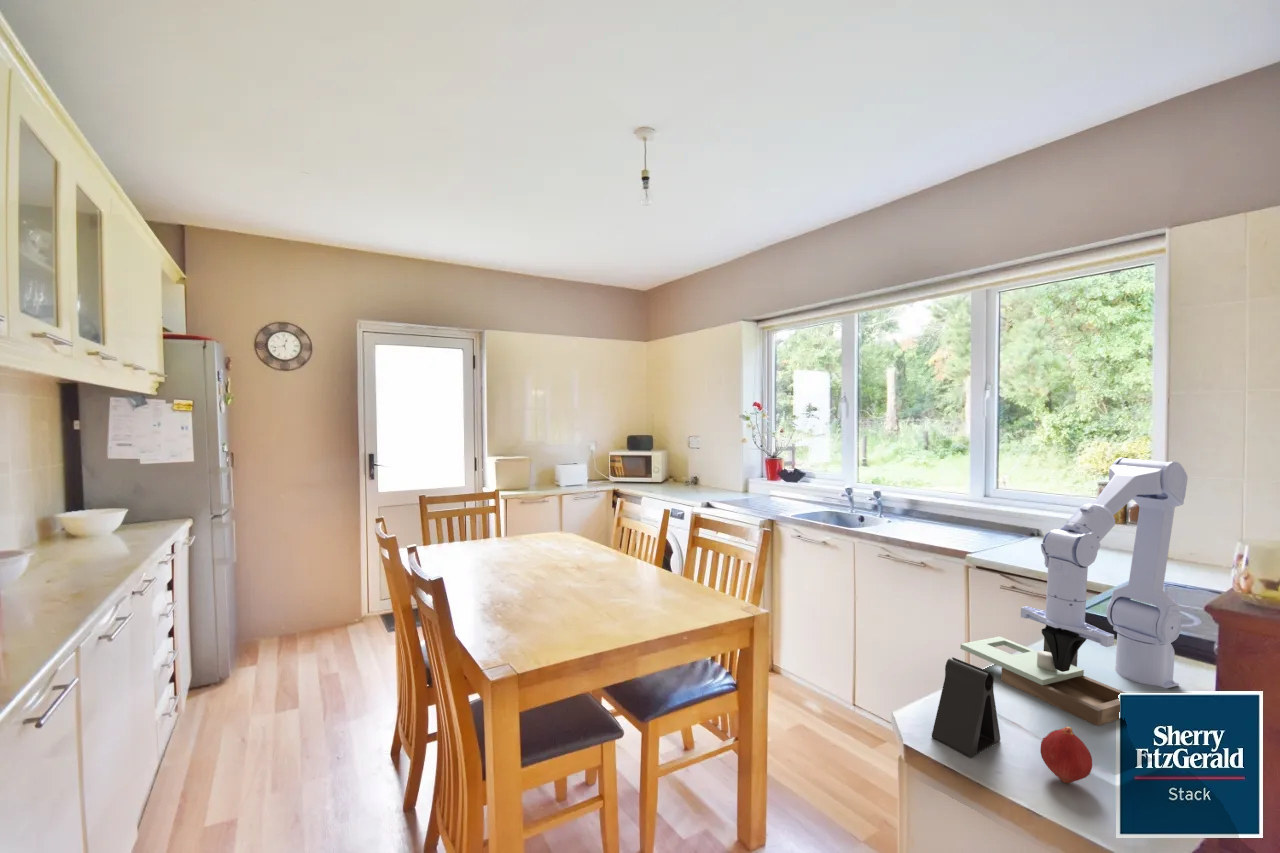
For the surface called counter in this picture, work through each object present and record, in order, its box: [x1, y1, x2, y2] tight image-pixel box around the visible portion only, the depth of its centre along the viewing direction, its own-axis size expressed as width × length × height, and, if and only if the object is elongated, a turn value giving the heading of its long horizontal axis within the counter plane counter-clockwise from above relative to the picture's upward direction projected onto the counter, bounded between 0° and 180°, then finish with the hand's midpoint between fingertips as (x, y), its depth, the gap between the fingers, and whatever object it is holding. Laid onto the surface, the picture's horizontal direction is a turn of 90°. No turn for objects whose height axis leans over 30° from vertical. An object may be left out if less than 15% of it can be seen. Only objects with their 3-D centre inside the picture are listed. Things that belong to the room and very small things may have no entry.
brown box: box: [1000, 667, 1126, 727], centre depth 100 cm, size 12×16×4 cm
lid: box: [960, 636, 1085, 685], centre depth 108 cm, size 12×16×4 cm
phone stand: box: [931, 656, 1001, 759], centre depth 87 cm, size 9×6×12 cm, turn 121°
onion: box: [1040, 726, 1093, 784], centre depth 78 cm, size 6×6×8 cm
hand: (1062, 669), depth 101 cm, fingers closed
